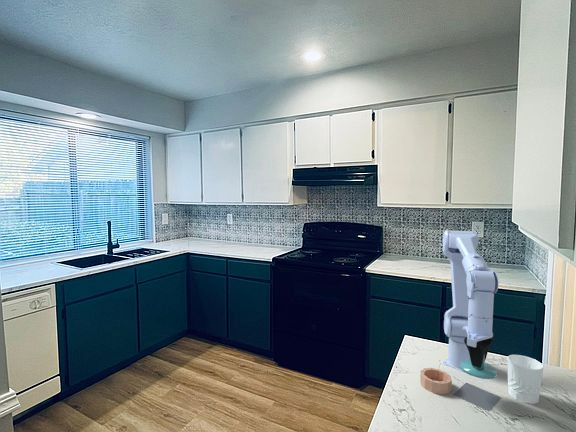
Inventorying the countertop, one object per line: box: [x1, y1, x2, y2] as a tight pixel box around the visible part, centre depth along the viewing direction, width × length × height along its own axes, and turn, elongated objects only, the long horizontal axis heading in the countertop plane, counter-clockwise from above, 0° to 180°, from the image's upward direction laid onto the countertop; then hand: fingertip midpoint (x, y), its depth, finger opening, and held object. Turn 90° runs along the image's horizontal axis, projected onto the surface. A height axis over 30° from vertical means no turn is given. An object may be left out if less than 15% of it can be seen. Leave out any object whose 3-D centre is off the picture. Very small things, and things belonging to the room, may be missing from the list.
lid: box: [460, 354, 498, 380], centre depth 87 cm, size 9×9×5 cm
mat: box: [452, 382, 502, 412], centre depth 88 cm, size 9×9×1 cm
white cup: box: [506, 354, 544, 405], centre depth 88 cm, size 8×8×10 cm
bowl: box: [419, 367, 453, 395], centre depth 93 cm, size 8×8×3 cm
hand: (478, 363), depth 87 cm, fingers closed on lid, 3 cm apart
